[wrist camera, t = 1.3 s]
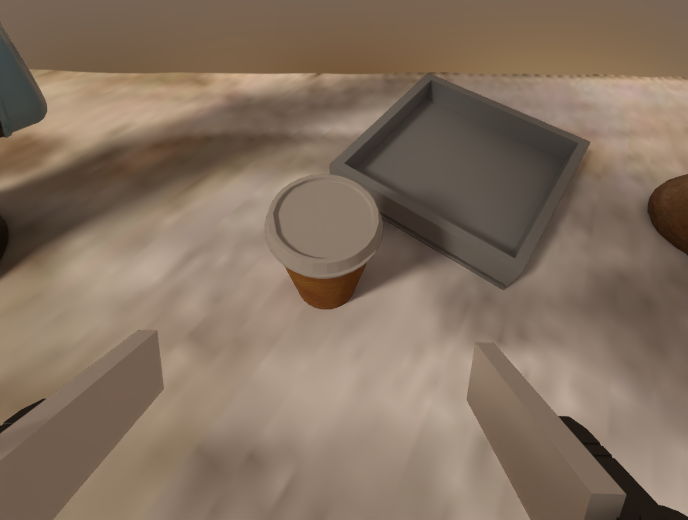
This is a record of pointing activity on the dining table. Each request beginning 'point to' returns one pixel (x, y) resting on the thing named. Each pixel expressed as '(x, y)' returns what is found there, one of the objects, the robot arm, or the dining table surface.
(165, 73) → the dining table surface
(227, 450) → the dining table surface
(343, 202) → the disposable coffee cup
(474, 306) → the dining table surface
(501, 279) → the grey tray
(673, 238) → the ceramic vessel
